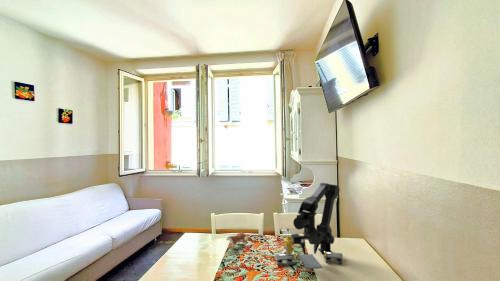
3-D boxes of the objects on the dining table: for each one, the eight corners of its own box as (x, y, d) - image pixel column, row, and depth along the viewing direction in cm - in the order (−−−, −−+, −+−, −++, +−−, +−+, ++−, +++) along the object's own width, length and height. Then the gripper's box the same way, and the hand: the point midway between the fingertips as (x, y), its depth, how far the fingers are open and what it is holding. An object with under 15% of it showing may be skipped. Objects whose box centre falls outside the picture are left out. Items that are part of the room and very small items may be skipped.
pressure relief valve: (295, 253, 134) (295, 235, 134) (283, 261, 125) (283, 243, 125) (287, 250, 138) (286, 233, 137) (275, 258, 129) (274, 240, 128)
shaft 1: (277, 265, 121) (277, 255, 121) (275, 261, 125) (275, 251, 125) (296, 264, 122) (296, 254, 122) (293, 260, 126) (293, 250, 126)
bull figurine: (225, 248, 141) (225, 234, 141) (242, 241, 150) (242, 229, 150) (229, 251, 138) (229, 236, 138) (246, 244, 147) (246, 231, 147)
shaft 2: (324, 262, 124) (324, 253, 124) (323, 258, 128) (323, 249, 128) (342, 264, 121) (342, 254, 121) (341, 260, 126) (341, 251, 126)
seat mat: (298, 255, 131) (298, 254, 131) (312, 254, 132) (312, 254, 132) (306, 268, 117) (306, 268, 117) (322, 267, 118) (322, 267, 118)
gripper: (296, 230, 116) (297, 262, 116) (333, 229, 118) (333, 260, 118) (290, 223, 127) (290, 252, 127) (323, 221, 129) (324, 250, 129)
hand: (309, 254), depth 125 cm, fingers open, 5 cm apart
